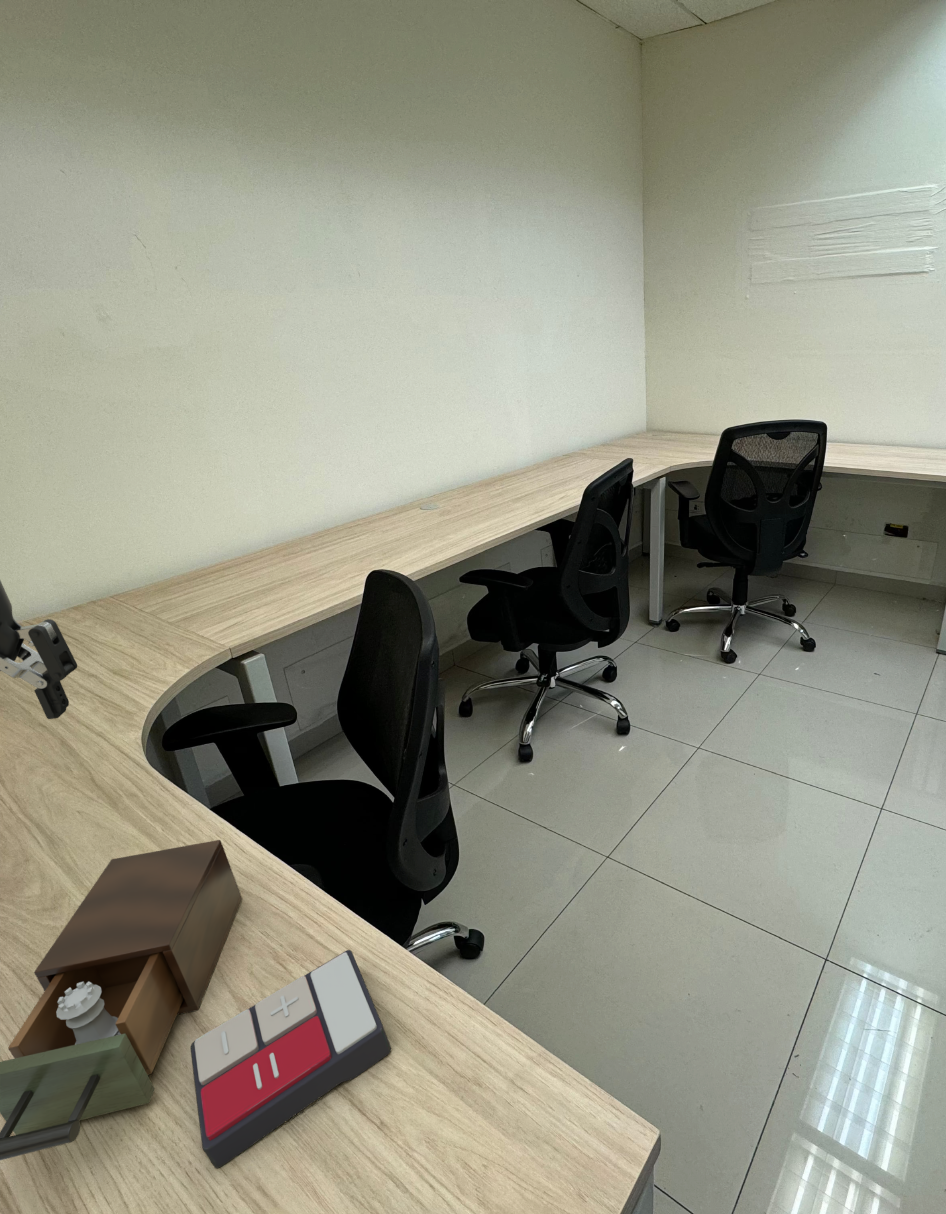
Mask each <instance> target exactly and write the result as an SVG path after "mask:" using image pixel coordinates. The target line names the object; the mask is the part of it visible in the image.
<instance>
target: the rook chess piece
mask: <svg viewBox="0 0 946 1214" xmlns="http://www.w3.org/2000/svg"><path fill="white" fill-rule="evenodd" d="M101 992H102V991H101V987H100V986H98V985H93V984H92V983H91V982H87V983H86V985H85V983H84V982H80V983H77V988H76V989H74V990H72V989H71V988H69V989H67V990H66V991H65V992H64V993H65V994H66V996H65V997H60V998H59V1000H58V1004H59V1006H58V1009H57V1011H56V1014H57V1017H58V1018H60V1019H61V1020H62V1019H67V1020H66V1025H67V1026H68V1027H69V1028H72V1029H73V1031H74V1034H75V1038H76V1043H75V1045H76V1044H81V1043H85V1042H90V1041H94V1040H98V1039H103V1038H107V1037H112V1036H116V1035H120V1032H119V1030H118V1028H117V1026H116V1025H115V1024H116V1021H117V1020H118V1018H117V1017H115V1016H111V1015H110V1014H109V1013H108V1012H107V1011H106V1010H105V1008H104V1000H103V999H101V998H99V997H100V995H101Z"/></svg>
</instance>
